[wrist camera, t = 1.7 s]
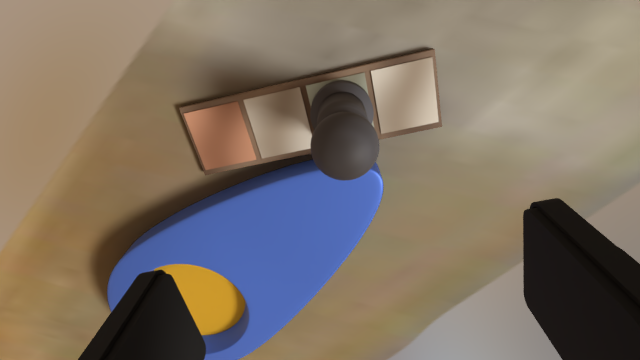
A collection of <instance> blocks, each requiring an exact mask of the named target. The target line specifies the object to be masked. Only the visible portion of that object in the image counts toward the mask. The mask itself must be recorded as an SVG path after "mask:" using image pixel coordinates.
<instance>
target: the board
mask: <svg viewBox="0 0 640 360" xmlns="http://www.w3.org/2000/svg"><path fill="white" fill-rule="evenodd" d="M338 80H347V81H351V82H354V83H356V84H358V85H359V86H361V87H362V88H363V89H364V90H365V91H366V92H367V94H368V96H369V97H370V100H371V103H372V105H373V111H374V117H373V122H372V125H373V127H374V129H375V130H376V132H377V135H378V139H384V138H389V137H394V136H399V135H403V134H408V133H413V132H418V131H423V130H428V129H433V128H438V127H442V122H441V111H440V101H439V90H438V80H437V69H436V59H435V49H428V50H424V51H420V52H415V53H411V54H407V55H402V56H398V57H394V58H389V59H385V60H381V61H376V62H372V63H368V64H363V65H359V66H355V67H350V68H346V69H342V70H337V71H333V72H329V73H324V74H320V75H316V76H311V77H307V78H303V79H298V80H294V81H290V82H285V83H281V84H277V85H272V86H268V87H264V88H259V89H255V90H251V91H246V92H242V93H238V94H233V95H229V96H225V97H220V98H216V99H212V100H207V101H203V102H199V103H194V104H190V105H186V106H182V107H180V108H179V110H180V112H181V115H182V117H183V120H184V122H185V125H186V127H187V130H188V133H189V135H190V138H191V140H192V143H193V145H194V148H195V150H196V153H197V155H198V158H199V160H200V163H201V165H202V168H203V171H204V173H205V175H208V174H213V173H218V172H223V171H228V170H233V169H238V168H242V167H247V166H252V165H257V164H262V163H267V162H272V161H277V160H281V159H286V158H291V157H296V156H301V155H306V154H311V146H310V144H311V138H312V135H313V132H314V128H313V126H312V123H311V119H310V111H311V105H312V101H313V99H314V97H315V95H316V93H317V92H318V91H319V90H320V89H321V88H322V87H323V86H325V85H326V84H328V83H330V82H333V81H338Z"/></svg>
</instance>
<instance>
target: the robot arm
mask: <svg viewBox="0 0 640 360" xmlns="http://www.w3.org/2000/svg"><path fill="white" fill-rule="evenodd" d="M523 239H524V297H525V301H526V303H527V306H528V308H529V309H530V311H531V312H532V314H533V315H534V317H535V319H536V320H537V321H538V323H539V324H540V326H541V328H542V329H543V330H544V332H545V334H546V335H547V336H548V338H549V340H550V341H551V343H552V344H553V346H554V347H555V349H556V350H557V352H558V353H559V355H560V356H561V358H562V359H563V360H640V264H639V263H638V262H637V261H635V260H634V259H633V258H632V257H631V256H629V255H628V254H627V253H626V252H625V251H623V250H622V249H620V248H619V247H617V246H615V245H614V244H613V243H612V242H611V241H610V240H608V239H607V238H606V237H605V236H604V235H602V234H601V233H600V232H599V231H598V230H596V229H595V228H594V227H593V226H592V225H591V224H589V223H588V222H587V221H586V220H585V219H583V218H582V217H581V216H580V215H579V214H578V213H576V212H575V211H574V210H573V209H572V208H570V207H569V206H568V205H567V204H566V203H564V202H563V201H562V200H560V199H559V198H555V199H549V200H544V201H538V202H533V203H532V204H531V206H530V209H527V210H525V211H524V215H523ZM205 355H206V345H205V342H204V339H203V337H202V335H201V333H200V331H199V329H198V327H197V325H196V323H195V321H194V319H193V317H192V315H191V313H190V311H189V309H188V307H187V305H186V303H185V301H184V299H183V297H182V295H181V293H180V291H179V289H178V287H177V285H176V283H175V281H174V279H173V277H172V275H170V274H166V272H165V271H163V270H155V271H150V272H144V273H141V274H139V275H138V276H137V277H136V279H135V280H134V281H133V283H132V284H131V286H130V287H129V288H128V290H127V291H126V293H125V294H124V295H123V297H122V298H121V300H120V301H119V302H118V304H117V305H116V307H115V308H114V310H113V311H112V312H111V314H110V315H109V317H108V318H107V319H106V321H105V322H104V324H103V325H102V326H101V328H100V329H99V331H98V332H97V333H96V335H95V336H94V338H93V339H92V341H91V342H90V343H89V345H88V346H87V348H86V349H85V350H84V352H83V353H82V355H81V356H80V357H79V359H78V360H204V358H205Z"/></svg>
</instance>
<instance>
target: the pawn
mask: <svg viewBox="0 0 640 360" xmlns="http://www.w3.org/2000/svg"><path fill="white" fill-rule="evenodd" d="M373 117H374V111H373V105H372V103H371V100H370V97H369V96H368V94H367V92H366V91H365V90H364V89H363V88H362V87H361V86H359V85H358V84H356V83H354V82H351V81H347V80H338V81H333V82H330V83H328V84H326V85H325V86H323V87H322V88H321V89H320V90H319V91H318V92H317V93H316V95H315V97H314V99H313V101H312V105H311V111H310V119H311V123H312V126H313V128H314V132H313V135H312V138H311V144H310V146H311V155H312V158H313V160H314V162H315V164H316V166H317V167H318V168H319V170H320V171H322V172H323V173H324V174H325V175H327V176H328V177H330V178H333V179H336V180H343V181H345V180H353V179H356V178H359V177H361V176H363V175H364V174H366V173H367V172H368V171H369V170H370V169H371V168H372V166H373V165H374V163H375V162H376V159H377V157H378V153H379V139H378V135H377V132H376V130H375V129H374V127H373V125H372V122H373Z"/></svg>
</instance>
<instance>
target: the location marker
mask: <svg viewBox="0 0 640 360" xmlns="http://www.w3.org/2000/svg"><path fill="white" fill-rule="evenodd" d="M382 194H383V180H382V177H381V174H380V171H379V168H378V166H377V164H376V162H375V163H374V165H373V166H372V168H371V169H370V170H369V171H368V172H367V173H366V174H364V175H363V176H361V177H359V178H356V179H353V180H345V181H343V180H336V179H333V178H330V177H328V176H327V175H325V174H324V173H323V172H322V171H320V170H319V168H318V167H317V166H316V164H315V162H314V160H308V161H304V162H301V163H297V164H293V165H290V166H287V167H283V168H280V169H277V170H274V171H271V172H268V173H266V174H263V175H260V176H257V177H255V178H252V179H249V180H247V181H244V182H242V183H239V184H237V185H234V186H232V187H229V188H227V189H225V190H222V191H220V192H218V193H215V194H213V195H211V196H209V197H207V198H205V199H203V200H201V201H199V202H197V203H195V204H193V205H190V206H188V207H186V208H184V209H183V210H181V211H179V212H177V213H175V214H174V215H172V216H170V217H168V218H167V219H165V220H163V221H162V222H160V223H159V224H157V225H155V226H154V227H152V228H151V229H150V230H148V231H147V232H145V233H144V234H143V235H142V236H140V237H139V238H138V239H137V240H136V241H135V242H134V243H133V244H132V246H131V247H130V248H129V249H128V250H127V252H126V253H125V254H124V255H123V257H122V258H121V259H120V260H119V262H118V263H117V264H116V266H115V267H114V269H113V271H112V273H111V275H110V278H109V282H108V288H107V297H108V303H109V307H110V310H111V312H112V311H113V310H114V308H115V307H116V305H117V304H118V302H119V301H120V300H121V298H122V297H123V295H124V294H125V293H126V291H127V290H128V288H129V287H130V286H131V284H132V283H133V281H134V280H135V279H136V277H137V276H138V275H139V274H141V273H144V272H150V271H155V270H163V271H165V272H166V274H170V275H172V277H173V279H174V281H175V283H176V285H177V287H178V289H179V291H180V293H181V295H182V297H183V299H184V301H185V303H186V305H187V307H188V309H189V311H190V313H191V315H192V317H193V319H194V321H195V323H196V325H197V327H198V329H199V331H200V333H201V335H202V337H203V339H204V342H205V345H206V355H205V358H204V360H237V359H240V358H242V357H244V356H246V355H248V354H249V353H251V352H252V351H254V350H255V349H257V348H258V347H260V346H261V345H262V344H264V343H265V342H266V341H267V340H269V339H270V338H271V337H272V336H273V335H275V334H276V333H277V332H278V331H279V330H280V329H282V328H283V327H284V326H285V325H286V324H287V323H288V322H289V321H290V320H291V319H292V318H293V317H294V316H295V315H296V314H297V313H298V312H299V311H300V310H301V309H302V308H303V307H304V306H305V305H306V304H307V303H308V302H309V301H310V300H311V299H312V298H313V297H314V296H315V294H316V293H317V292H318V291H319V290H320V289H321V288H322V287H323V286H324V284H325V283H326V282H327V281H328V280H329V279H330V278H331V276H332V275H333V274H334V273H335V272H336V270H337V269H338V268H339V267H340V266H341V264H342V263H343V262H344V261H345V259H346V258H347V257H348V255H349V254H350V253H351V251H352V250H353V249H354V247H355V246H356V244H357V243H358V242H359V240H360V239H361V237H362V236H363V234H364V233H365V231H366V229H367V228H368V226H369V224H370V223H371V221H372V219H373V217H374V215H375V213H376V211H377V209H378V207H379V204H380V201H381V198H382Z"/></svg>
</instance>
